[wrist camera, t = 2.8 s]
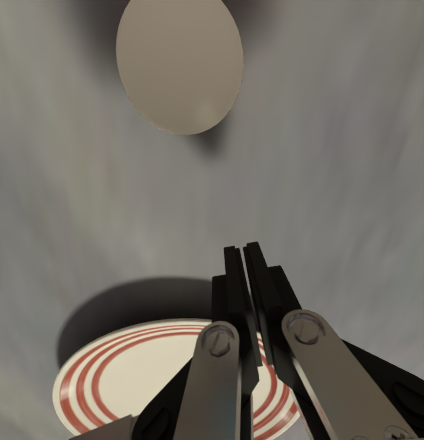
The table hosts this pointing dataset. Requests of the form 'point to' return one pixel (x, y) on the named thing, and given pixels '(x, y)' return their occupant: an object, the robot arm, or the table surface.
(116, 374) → the dinner plate
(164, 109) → the ball
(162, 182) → the table surface
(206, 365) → the robot arm
